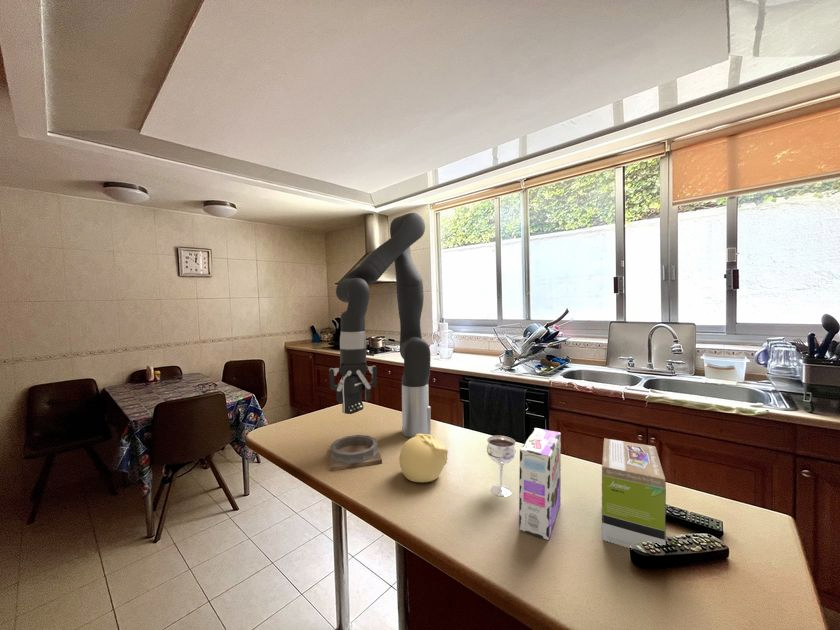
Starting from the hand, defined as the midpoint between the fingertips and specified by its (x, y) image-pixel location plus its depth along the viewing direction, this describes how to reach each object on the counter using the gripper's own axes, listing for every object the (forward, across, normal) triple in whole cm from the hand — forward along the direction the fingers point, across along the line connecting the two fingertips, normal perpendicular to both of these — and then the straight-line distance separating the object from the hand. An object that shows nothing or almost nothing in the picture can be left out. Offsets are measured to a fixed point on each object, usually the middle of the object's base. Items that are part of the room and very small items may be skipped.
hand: (353, 402), depth 97 cm
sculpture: (+16, -16, +17) cm, 29 cm away
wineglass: (+16, -32, +29) cm, 46 cm away
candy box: (+16, -35, +40) cm, 56 cm away
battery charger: (+3, 0, 0) cm, 3 cm away
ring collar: (+16, 0, 0) cm, 16 cm away
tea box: (+16, -50, +48) cm, 71 cm away
